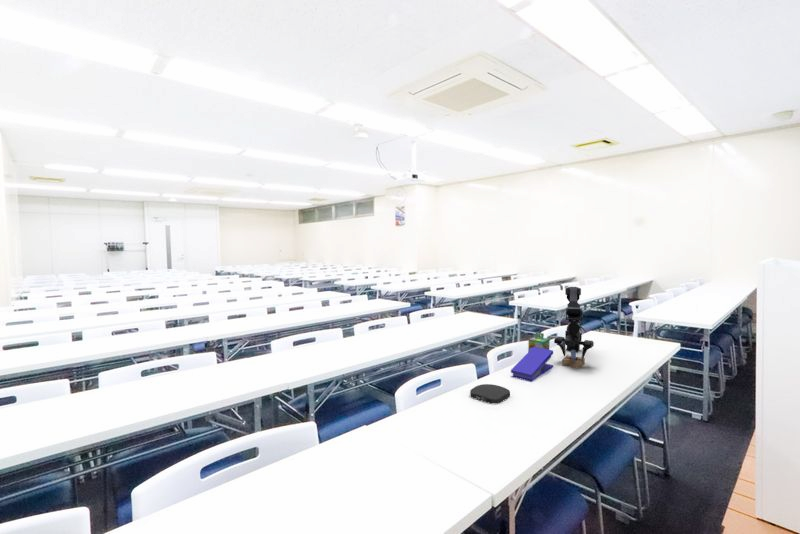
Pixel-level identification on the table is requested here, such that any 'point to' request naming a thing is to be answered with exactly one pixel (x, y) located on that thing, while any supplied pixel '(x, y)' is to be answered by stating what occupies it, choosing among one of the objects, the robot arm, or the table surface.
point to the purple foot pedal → (533, 364)
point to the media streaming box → (490, 393)
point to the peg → (573, 354)
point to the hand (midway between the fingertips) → (573, 357)
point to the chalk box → (538, 342)
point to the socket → (573, 362)
